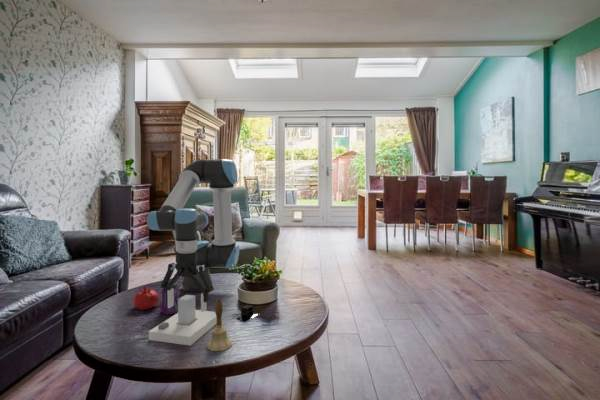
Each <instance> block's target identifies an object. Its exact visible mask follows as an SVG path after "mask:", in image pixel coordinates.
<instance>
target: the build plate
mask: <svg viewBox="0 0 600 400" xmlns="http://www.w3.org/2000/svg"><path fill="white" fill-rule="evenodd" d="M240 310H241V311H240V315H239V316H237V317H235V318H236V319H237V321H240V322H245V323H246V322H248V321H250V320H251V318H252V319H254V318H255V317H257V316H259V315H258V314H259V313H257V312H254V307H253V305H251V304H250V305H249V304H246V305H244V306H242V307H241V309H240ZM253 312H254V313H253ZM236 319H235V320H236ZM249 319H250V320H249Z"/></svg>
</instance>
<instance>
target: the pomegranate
mask: <svg viewBox="0 0 600 400" xmlns="http://www.w3.org/2000/svg"><path fill="white" fill-rule="evenodd" d="M159 300H160V297H159V294H158V292H157V291H156V290H154V289H153V287H152V288H149V289H148V288H147V286H143V289H138V292H136V294H135V295H134V297H133V300H132V302H133V306H134V308H135V309H137V310H139V311H140V310H141V311H146V310H149V309H153V308H154V307H156V306H157V304H158V302H159Z"/></svg>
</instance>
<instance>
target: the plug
mask: <svg viewBox="0 0 600 400" xmlns="http://www.w3.org/2000/svg"><path fill="white" fill-rule="evenodd" d="M195 310H196V295H194V294H193V295H192V294H185V295H183V296H181V297H179V299H178V311H177V313H178V324H180V325H188V326H189V325H191V324H192V323H193V322H195V321H196V312H195Z"/></svg>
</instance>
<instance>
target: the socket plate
mask: <svg viewBox="0 0 600 400" xmlns="http://www.w3.org/2000/svg"><path fill="white" fill-rule="evenodd" d="M195 312H196V321H195V322H193V323H192V324H191V325H189V326H188V325H180V324H178V312H176V313H174V315H172V316H170V317H169V318H167V319H166V320H165V321H162V322H161V323H160V324H157V326H156V325H155V327H152V329H150V330H149V331H148V340H149V341H154V342H155V341H156V342H160V343H169V344H176V345H182V346H183V345H184V346H189V347H191V346H192V345H193V344H194V343H196V342H197V341H198V340H199V339H200V338H201V337H203V336H205V334H206V333H207V332H209V331H210V330H211V329H212V328H213V327H214V326H217V325H216V323H217V317H216V313H215V311H211V310H210V311H209V310H205V311H203V312H201V309H195Z"/></svg>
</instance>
